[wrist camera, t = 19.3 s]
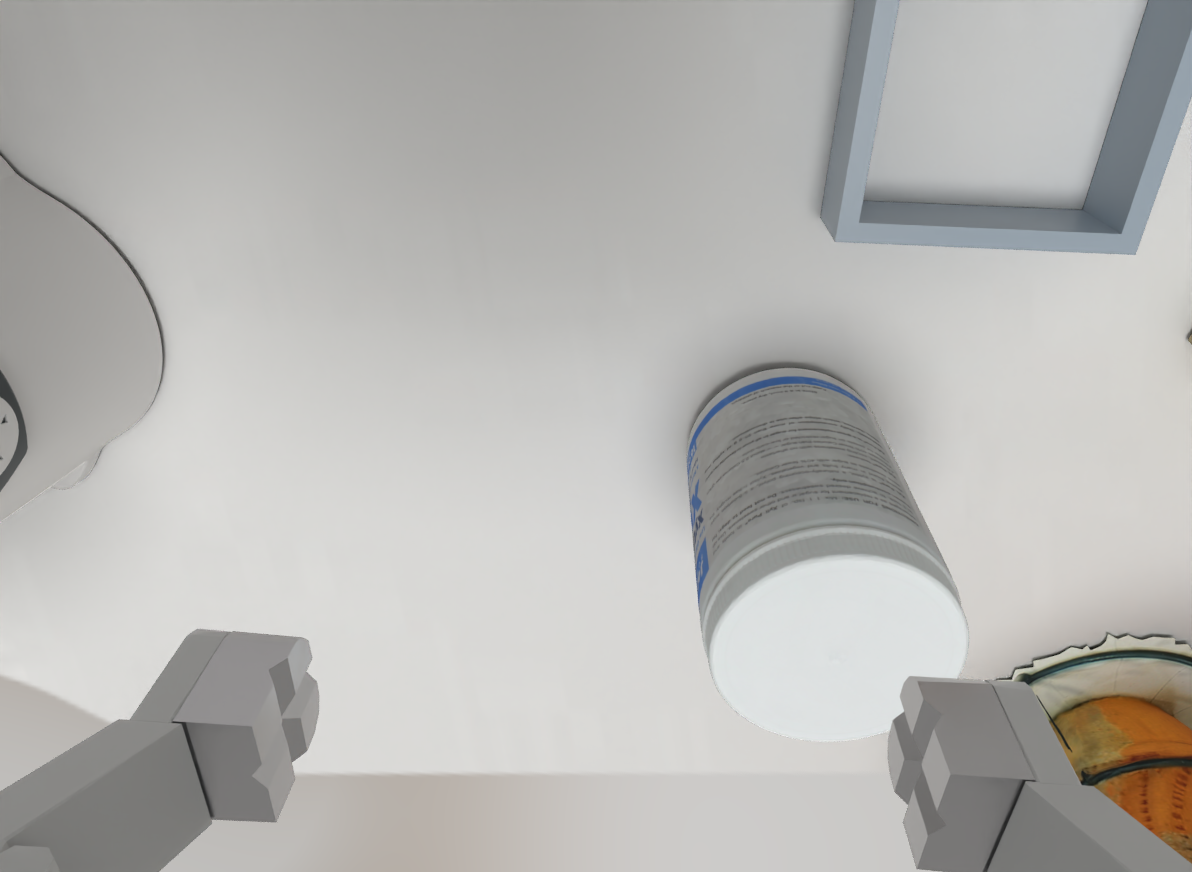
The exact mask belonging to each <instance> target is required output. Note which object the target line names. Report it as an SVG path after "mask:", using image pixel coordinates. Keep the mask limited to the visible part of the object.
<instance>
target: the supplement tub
mask: <svg viewBox="0 0 1192 872" xmlns="http://www.w3.org/2000/svg"><path fill="white" fill-rule="evenodd" d="M687 472H688V486H689V498H690V511H691V522H692V533H693V547H694V557H695V570H696V581H697V592H698V604H699V613H700V622H701V631H702V638H703V644H704V649H705V652H706V655H707V657H708V662H709V667H710V671H711V675H712V678H713V681H714V683H715V685H716V688H717V690H718V691H719V693H720V694H721V696H722V697H723V698H724V700H725V701H726V702H727V703H728V705H729V706H730V707H731V708H732V709H733V710H735V711H736V712H737V713H738V714H739V715H741V716H742V717H743V718H745V719H746V720H748V721H749V722H751V723H753V724H754V725H756V726H758V727H760V728H762V729H765V730H767V731H769V732H772V733H775V734H778V735H781V736H785V737H788V738H793V739H799V740H805V741H816V742H840V741H850V740H857V739H862V738H867V737H871V736H875V735H879V734H882V733H885V732H887V731H890V729H891V725H892V721H893V719H895V718H896V717H897V716H899V715H900V714H901V713H903V712H904V709H903V706H902V703H901V699H900V693H901V690H902V687H903V684H904V682H905V681H906V679H907V678H908V677H909V676H920V677H938V678H956V679H958V677H959V675H960V673H961V671H962V669H963V667H964V664H965V662H966V658H967V654H968V648H969V630H968V624H967V620H966V617H965V614H964V612H963V609H962V607H961V601H960V597H959V594H958V590H957V587H956V585H955V583H954V581H953V579H952V576H951V574H950V572H949V570H948V568H947V566H946V563H945V561H944V559H943V557H942V555H941V553H940V551H939V549H938V547H937V545H936V543H935V540H934V538H933V536H932V534H931V532H930V530H929V528H928V526H927V524H926V522H925V520H924V518H923V516H922V514H921V512H920V510H919V508H918V506H917V504H916V502H915V500H914V498H913V496H912V494H911V491H910V489H909V487H908V485H907V483H906V481H905V479H904V476H903V474H902V472H901V470H900V468H899V466H898V464H897V462H896V460H895V458H894V456H893V454H892V452H891V450H890V448H889V446H888V444H887V442H886V440H885V438H884V436H883V434H882V432H881V429H880V427H879V425H878V423H877V421H876V419H875V417H874V415H873V413H872V412H871V410H870V408H869V407H868V405H867V404H866V403H865V402H864V400H863V399H862V398H861V397H860V396H859V395H858V394H857V393H856V392H855V391H854V390H852V389H851V388H849V387H848V386H846V385H845V384H843V383H842V382H840V381H838V380H836V379H834V378H832V377H830V376H828V375H826V374H822V373H819V372H816V371H812V370H807V369H799V368H780V369H771V370H765V371H761V372H758V373H754V374H751V375H749V376H746V377H744V378H742V379H740V380H738V381H736V382H734V383H732V384H731V385H729V386H728V387H726V388H725V389H723V390H722V391H721V392H719V393H718V394H717V395H716V396H715V397H714V398H713V399H712V400H711V401H710V402H709V403H708V404H707V405H706V406H705V408H704V409H703V410H702V412H701V413H700V415H699V416H698V418H697V420H696V422H695V424H694V426H693V428H692V431H691V433H690V437H689V441H688V446H687Z"/></svg>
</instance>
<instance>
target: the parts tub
mask: <svg viewBox="0 0 1192 872" xmlns="http://www.w3.org/2000/svg"><path fill="white" fill-rule="evenodd" d="M899 1H900V0H855V4H854V10H853V17H852V23H851V29H850V35H849V42H848V48H847V54H846V60H845V67H844V73H843V79H842V85H841V92H840V98H839V104H838V110H837V117H836V123H835V129H834V135H833V142H832V148H831V154H830V160H829V167H828V173H827V179H826V185H825V192H824V198H823V204H822V210H821V217H820V218H821V219H822V221H823V223H824V224H825V226H826V228H827V229H828V231H829V233H830V234H831V236H832V237H833V239H834V241H835V242H853V243H875V244H898V245H921V246H944V247H967V248H990V249H1013V250H1036V251H1059V252H1081V253H1104V254H1127V255H1136V252H1137V249H1138V246H1139V243H1140V241H1141V238H1142V235H1143V232H1144V229H1145V226H1146V224H1147V221H1148V218H1149V215H1150V212H1151V210H1152V207H1153V204H1154V201H1155V198H1156V195H1157V193H1158V190H1159V187H1160V184H1161V181H1162V179H1163V176H1164V173H1165V170H1166V167H1167V164H1168V162H1169V159H1170V156H1171V153H1172V150H1173V148H1174V145H1175V142H1176V139H1177V136H1178V133H1179V131H1180V128H1181V125H1182V122H1183V119H1184V117H1185V114H1186V111H1187V108H1188V105H1189V102H1190V100H1191V97H1192V0H1149V1H1148V4H1147V7H1146V10H1145V13H1144V17H1143V20H1142V23H1141V26H1140V29H1139V33H1138V36H1137V39H1136V42H1135V45H1134V48H1133V52H1132V55H1131V58H1130V61H1129V64H1128V68H1127V71H1126V74H1125V77H1124V80H1123V83H1122V87H1121V90H1120V93H1119V96H1118V99H1117V103H1116V106H1115V109H1114V112H1113V115H1112V118H1111V122H1110V125H1109V128H1108V131H1107V134H1106V138H1105V141H1104V144H1103V147H1102V150H1101V153H1100V157H1099V160H1098V163H1097V166H1096V169H1095V173H1094V176H1093V179H1092V182H1091V185H1090V188H1089V192H1088V195H1087V198H1086V201H1085V204H1084V207H1083V210H1073V209H1049V208H1025V207H1001V206H977V205H954V204H930V203H906V202H882V201H863V197H864V192H865V187H866V181H867V176H868V170H869V165H870V159H871V154H872V148H873V143H874V137H875V132H876V127H877V121H878V116H879V110H880V105H881V99H882V94H883V88H884V83H885V78H886V72H887V67H888V61H889V56H890V50H891V45H892V39H893V34H894V29H895V23H896V18H897V12H898V7H899Z"/></svg>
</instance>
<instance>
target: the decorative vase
mask: <svg viewBox="0 0 1192 872" xmlns="http://www.w3.org/2000/svg"><path fill="white" fill-rule="evenodd" d="M1033 664H1034V667H1031V668H1024V669H1017V670H1015V672H1014V675H1013V678H1012V680H996V681H1013V682H1025V683H1026V684H1027V685H1029V686H1030V687H1031V688H1032V690H1033V692H1034V694H1035V696H1036V698H1037V700H1038V701H1039V703H1040V705H1041V707H1042V709H1043V711H1044V713H1045V715H1046V717H1047V719H1048V721H1049V723H1050V725H1051V727H1052V729H1053V731H1054V732H1055V734H1056V736H1057V738H1058V740H1059V742H1060V744H1061V746H1062V748H1063V750H1064V752H1065V754H1066V756H1067V758H1068V760H1069V761H1070V763H1071V765H1072V767H1073V769H1074V771H1075V773H1076V775H1077V777H1078V779H1079V781H1080V783H1081V785H1085V786H1094V787H1095V788H1096V789H1098V790H1099V791H1100V792H1102V793H1103V794H1104V795H1105V796H1107V797H1108V798H1109V799H1110V800H1112V801H1113V802H1114V803H1115V804H1117V805H1118V806H1119V807H1120V808H1122V809H1123V810H1124V811H1126V812H1127V813H1128V814H1129V815H1131V816H1132V817H1133V818H1134V819H1136V820H1137V821H1138V822H1139V823H1141V824H1142V825H1143V826H1145V827H1146V828H1147V829H1148V830H1150V831H1151V832H1152V833H1153V834H1155V835H1156V836H1157V837H1158V838H1160V839H1161V840H1162V841H1163V842H1165V843H1166V844H1167V845H1169V846H1170V847H1171V848H1172V849H1174V850H1175V851H1176V852H1177V853H1179V854H1180V855H1181V856H1182V857H1184V858H1185V859H1186V860H1188V861H1189V862H1190V863H1191V864H1192V649H1191V648H1190V646H1189V645H1188V644H1180V645H1175V638H1162V637H1150V638H1147V639H1144V640H1140V639H1136V638H1133V637H1131V636H1129V635H1127V636H1125V637H1122V638H1119V639H1117V638H1115V637H1113V636H1111V635H1109V634H1108V636H1107V640H1106V641H1105V643H1104V644H1103V645H1102V646H1100V647H1097V648H1095V649H1093V650H1090V649H1089V647H1088V646H1086V647H1085V648H1083V649H1078V648H1074V647H1070V648H1069V649H1067V650H1066V651H1064V652H1063V653H1061V654H1059V655H1055V656H1052V657H1049V658H1045V659H1040V660H1035V661H1033Z"/></svg>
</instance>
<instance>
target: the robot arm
mask: <svg viewBox="0 0 1192 872" xmlns="http://www.w3.org/2000/svg"><path fill="white" fill-rule="evenodd" d="M162 360H163V356H162V344H161V337H160V333H159V328H158V325H157V321H156V318H155V315H154V312H153V310H152V307H151V305H150V303H149V300H148V298H147V296H146V294H145V292H144V290H143V288H142V286H141V285H140V283H139V281H138V280H137V278H136V276H135V275H134V273H133V272H132V270H131V269H130V267H129V266H128V265H127V263H126V262H125V261H124V260H123V258H122V257H121V256H120V255H119V253H118V252H117V251H116V250H115V249H114V247H113V246H112V245H111V244H110V243H109V242H108V241H107V240H106V239H105V238H104V237H103V236H102V235H101V234H100V233H99V232H98V231H97V230H96V229H95V228H93V227H92V226H91V225H90V224H89V223H88V222H86V221H85V220H84V219H83V218H81V217H80V216H79V215H77V214H76V213H75V212H73V211H72V210H71V209H69V208H68V207H66V206H65V205H63V204H62V203H60V202H58V201H57V200H55V199H54V198H52V197H50V196H49V195H47V194H45V193H44V192H42V191H40V190H39V189H37V188H35V187H34V186H33V185H31V184H30V183H28V182H27V181H25V180H24V179H23V178H21V177H20V176H19V175H18V174H16V172H15V171H14V170H13V169H12V168H11V167H10V166H9V164H8V163H7V162H6V161H5V160H4V159H3V158H2V157H1V156H0V523H1V522H3V521H4V520H6V519H7V518H8V517H10V516H11V515H13V514H14V513H15V512H17V511H18V510H20V509H21V508H23V507H24V506H25V505H27V504H28V503H30V502H31V501H32V500H34V499H35V498H36V497H38V496H39V495H41V494H42V493H43V492H45V491H46V490H48V489H49V488H55V489H69V488H72V487H74V486H75V485H76V484H78V483H79V482H81V481H82V480H84V479H85V478H86V477H87V476H88V475H89V474H90V472H91V471H92V469H93V467H94V465H95V463H96V461H97V459H98V457H99V454H100V452H101V449H102V448H103V447H104V446H105V445H106V444H108V443H109V442H110V441H112V440H113V439H115V438H116V437H118V436H120V435H121V434H123V433H124V432H126V431H127V430H129V429H130V428H131V427H133V426H134V425H135V424H136V423H137V422H138V421H139V420H140V419H141V418H142V417H143V416H144V415H145V413H146V412H147V410H148V409H149V408H150V406H151V404H152V402H153V400H154V398H155V396H156V393H157V391H158V387H159V384H160V380H161V374H162ZM311 660H312V654H311V650H310V646H309V641H308V640H306V639H304V638H302V637H292V636H280V635H269V634H258V633H247V632H236V631H233V632H227V631H216V630H205V629H196V630H195V631H193V632H192V633H190V634H189V635H188V636H187V637H186V638H185V639H184V641H183V642H182V644H181V645H180V647H179V648H178V650H177V651H176V653H175V654H174V656H173V657H172V658H171V660H170V661H169V663H168V664H167V666H166V667H165V669H164V670H163V672H162V673H161V675H160V676H159V678H158V679H157V680H156V682H155V683H154V685H153V686H152V688H151V689H150V691H149V692H148V694H147V695H146V697H145V698H144V700H143V701H142V703H141V704H140V705H139V707H138V708H137V710H136V711H135V713H134V714H133V716H132V717H131V719H130V720H120V719H119V720H117V721H115V722H114V723H112V724H110V725H109V726H107V727H105V728H104V729H102V730H101V731H99V732H97V733H96V734H94V735H92V736H91V737H89V738H87V739H86V740H84V741H82V742H81V743H79V744H78V745H76V746H74V747H73V748H71V749H69V750H68V751H66V752H64V753H63V754H61V755H59V756H58V757H56V758H55V759H53V760H51V761H50V762H48V763H46V764H45V765H43V766H42V767H40V768H38V769H36V770H35V771H33V772H31V773H30V774H28V775H26V776H25V777H23V778H22V779H20V780H18V781H17V782H15V783H13V784H12V785H10V786H8V787H7V788H5V789H3V790H2V791H0V872H159V871H160V870H161V869H162V868H163V867H165V866H166V865H167V864H168V863H169V862H170V861H171V860H172V859H173V858H175V857H176V856H177V855H178V854H179V853H180V852H181V851H182V850H183V849H184V848H185V847H187V846H188V845H189V844H190V843H191V842H192V841H193V840H194V839H195V838H196V837H198V836H199V835H200V834H201V833H202V832H203V831H204V830H206V829H207V828H208V827H209V826H210V825H211V824H212V820H234V821H258V822H277V819H278V817H279V815H280V812H281V810H282V808H283V806H284V803H285V801H286V799H287V796H288V794H289V792H290V790H291V787H292V785H293V783H294V781H295V776H294V771H293V766H292V762H293V761H295V760H296V759H297V758H299V757H300V756H301V755H303V754H304V753H305V752H306V751H307V750H308V748H309V745H310V743H311V740H312V738H313V736H314V733H315V728H316V724H317V719H318V714H319V691H318V685H317V681H316V680H315V679H314V678H312V677H311V676H310V675H309V674H308V673H307V672H306V671H307V669H308V667H309V664H310V662H311ZM900 699H901V703H902V706H903V709H904V712H903V713H901V714H900V715H899V716H897V717H896V718H895V719H893V721H892V725H891V729H890V733H889V737H888V764H889V771H890V776H891V780H892V784H893V788H894V791H895V793H896V794H898V795H899V797H900V798H902V799H903V800H904V801H905V802H906V803H907V804H908V808H907V811H906V814H905V817H904V821H903V824H904V827H905V830H906V834H907V837H908V840H909V844H910V847H911V851H912V854H913V858H914V861H915V864H916V868H917V869H922V870H932V871H943V872H1192V864H1191V863H1190V862H1189V861H1188V860H1186V859H1185V858H1184V857H1182V856H1181V855H1180V854H1179V853H1177V852H1176V851H1175V850H1174V849H1172V848H1171V847H1170V846H1169V845H1167V844H1166V843H1165V842H1163V841H1162V840H1161V839H1160V838H1158V837H1157V836H1156V835H1155V834H1153V833H1152V832H1151V831H1150V830H1148V829H1147V828H1146V827H1145V826H1143V825H1142V824H1141V823H1139V822H1138V821H1137V820H1136V819H1134V818H1133V817H1132V816H1131V815H1129V814H1128V813H1127V812H1126V811H1124V810H1123V809H1122V808H1120V807H1119V806H1118V805H1117V804H1115V803H1114V802H1113V801H1112V800H1110V799H1109V798H1108V797H1107V796H1105V795H1104V794H1103V793H1102V792H1100V791H1099V790H1098V789H1096V788H1095V787H1094V786H1085V785H1081V783H1080V781H1079V779H1078V777H1077V775H1076V773H1075V771H1074V769H1073V767H1072V765H1071V763H1070V761H1069V760H1068V758H1067V756H1066V754H1065V752H1064V750H1063V748H1062V746H1061V744H1060V742H1059V740H1058V738H1057V736H1056V734H1055V732H1054V731H1053V729H1052V727H1051V725H1050V723H1049V721H1048V719H1047V717H1046V715H1045V713H1044V711H1043V709H1042V707H1041V705H1040V703H1039V701H1038V700H1037V698H1036V696H1035V694H1034V692H1033V690H1032V688H1031V687H1030V686H1029V685H1027V684H1026V683H1025V682H1013V681H994V680H985V681H983V680H974V679H956V678H938V677H920V676H909V677H908V678H907V679H906V681H905V682H904V684H903V687H902V690H901V693H900Z"/></svg>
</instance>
